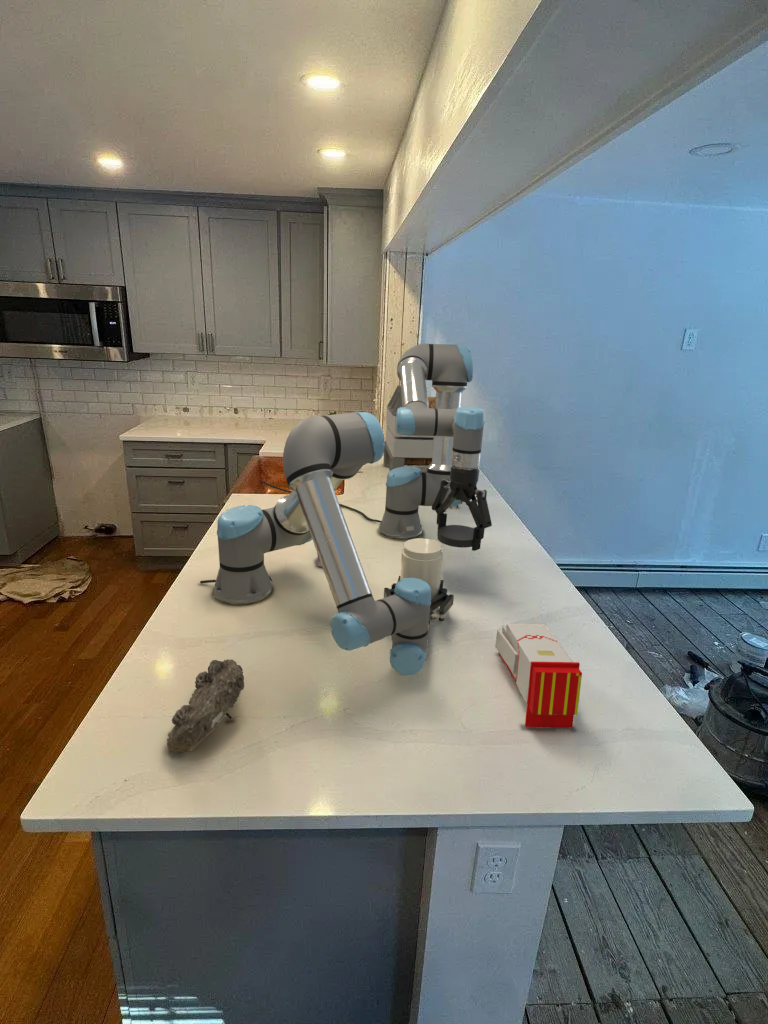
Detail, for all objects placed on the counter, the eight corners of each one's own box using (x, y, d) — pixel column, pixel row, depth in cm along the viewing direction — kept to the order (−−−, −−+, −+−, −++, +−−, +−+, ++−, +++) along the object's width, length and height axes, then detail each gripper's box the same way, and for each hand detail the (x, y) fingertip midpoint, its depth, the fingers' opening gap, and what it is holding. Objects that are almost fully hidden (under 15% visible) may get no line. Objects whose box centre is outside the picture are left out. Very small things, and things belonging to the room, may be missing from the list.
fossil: (192, 660, 117) (244, 628, 112) (224, 691, 120) (276, 661, 115) (142, 746, 98) (202, 712, 93) (182, 779, 101) (242, 748, 96)
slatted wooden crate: (382, 463, 289) (386, 382, 275) (445, 464, 293) (451, 384, 279) (390, 482, 257) (394, 392, 243) (460, 483, 261) (468, 394, 247)
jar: (410, 597, 156) (415, 534, 150) (444, 608, 151) (450, 544, 145) (391, 612, 148) (394, 546, 142) (426, 625, 143) (431, 557, 137)
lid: (482, 548, 152) (483, 541, 151) (439, 546, 151) (439, 539, 151) (476, 532, 163) (477, 525, 162) (435, 530, 162) (436, 524, 162)
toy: (542, 608, 134) (591, 669, 104) (537, 660, 136) (583, 734, 107) (491, 607, 133) (526, 668, 104) (487, 660, 136) (520, 733, 107)
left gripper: (363, 633, 133) (377, 590, 154) (461, 644, 131) (462, 599, 151) (364, 605, 131) (379, 565, 152) (464, 616, 128) (465, 574, 149)
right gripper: (422, 459, 156) (417, 533, 163) (494, 479, 140) (485, 559, 147) (440, 455, 161) (434, 527, 168) (511, 474, 145) (501, 552, 152)
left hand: (420, 582), depth 151 cm, fingers closed on jar, 10 cm apart
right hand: (458, 542), depth 157 cm, fingers closed on lid, 12 cm apart
